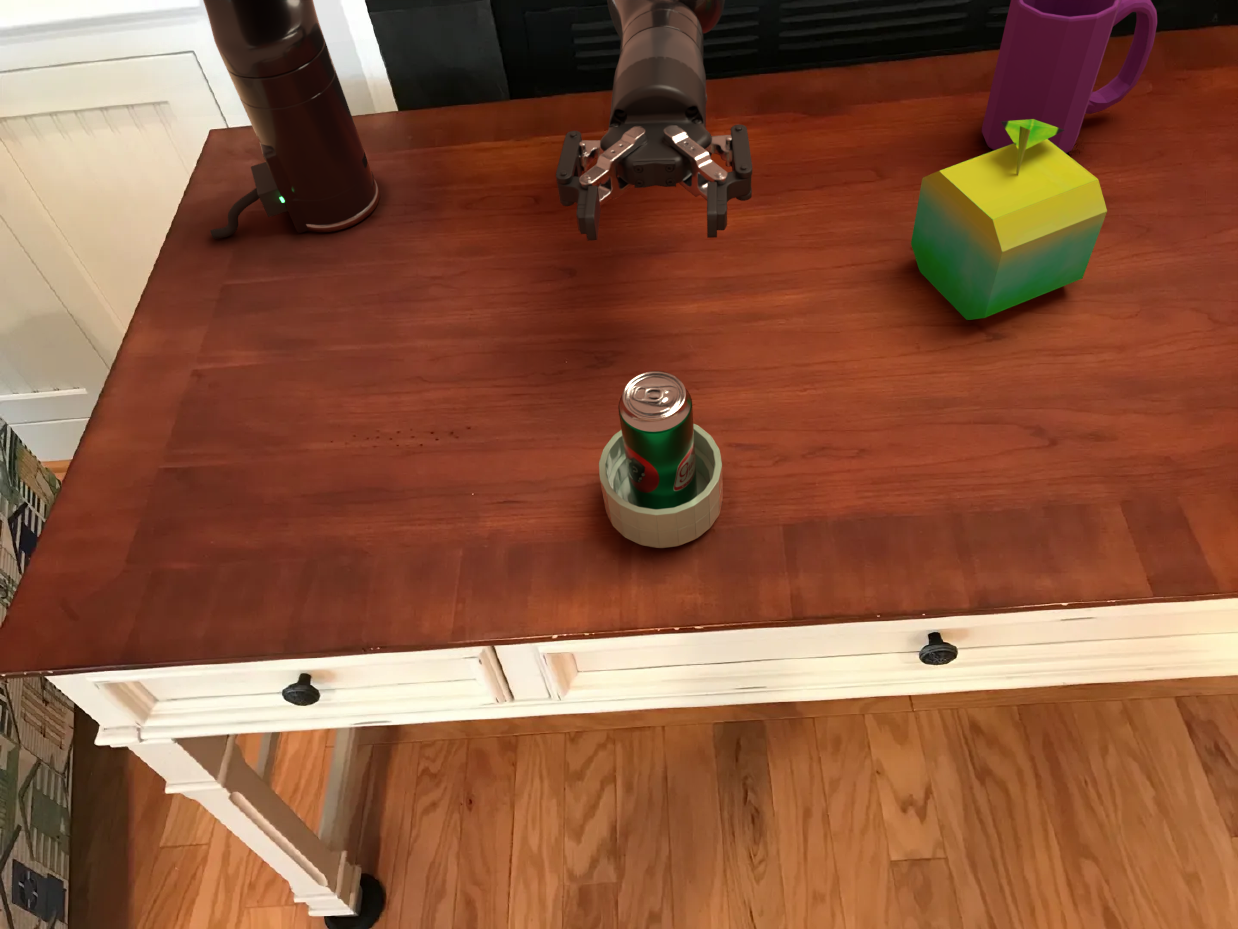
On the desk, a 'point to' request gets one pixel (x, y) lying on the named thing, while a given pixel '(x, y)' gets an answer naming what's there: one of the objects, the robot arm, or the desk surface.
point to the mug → (1062, 64)
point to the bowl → (670, 522)
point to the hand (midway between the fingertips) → (651, 229)
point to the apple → (1007, 223)
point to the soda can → (658, 440)
